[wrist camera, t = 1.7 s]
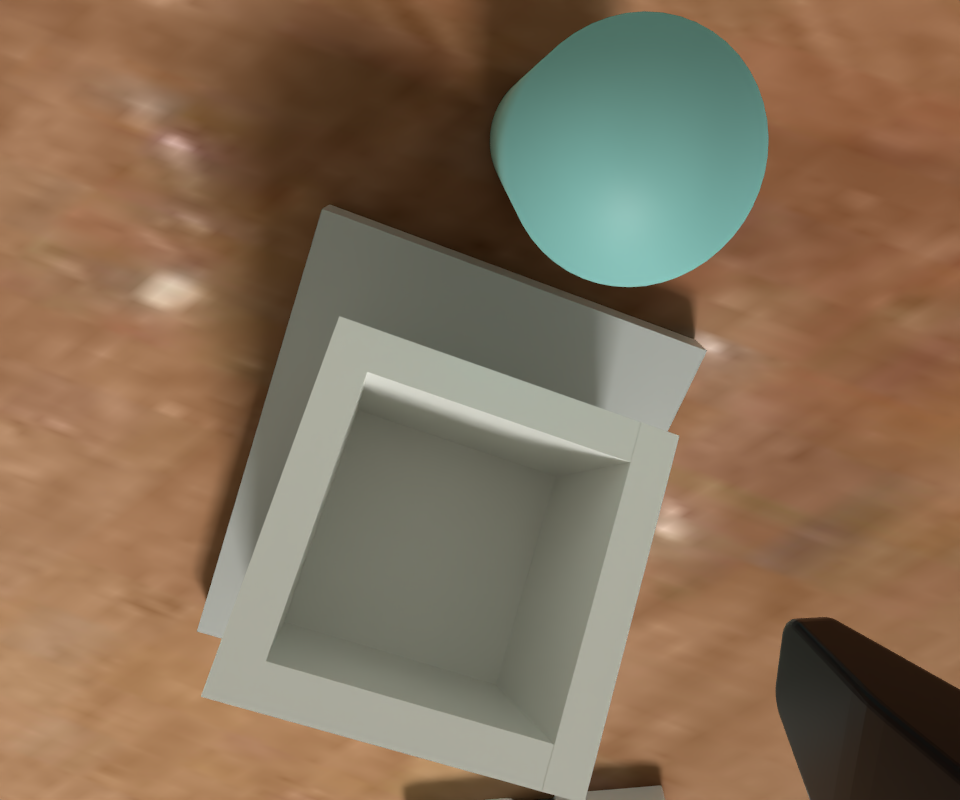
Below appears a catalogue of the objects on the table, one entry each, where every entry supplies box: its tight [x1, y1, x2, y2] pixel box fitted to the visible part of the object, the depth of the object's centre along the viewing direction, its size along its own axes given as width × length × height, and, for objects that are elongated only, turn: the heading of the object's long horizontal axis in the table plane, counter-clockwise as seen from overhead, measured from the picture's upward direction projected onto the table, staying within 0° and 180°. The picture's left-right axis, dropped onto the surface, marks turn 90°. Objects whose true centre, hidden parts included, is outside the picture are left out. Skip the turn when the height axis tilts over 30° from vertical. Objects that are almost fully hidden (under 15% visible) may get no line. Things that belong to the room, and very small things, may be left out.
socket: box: [197, 204, 707, 800], centre depth 17 cm, size 12×10×8 cm
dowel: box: [490, 12, 768, 287], centre depth 14 cm, size 3×3×9 cm
